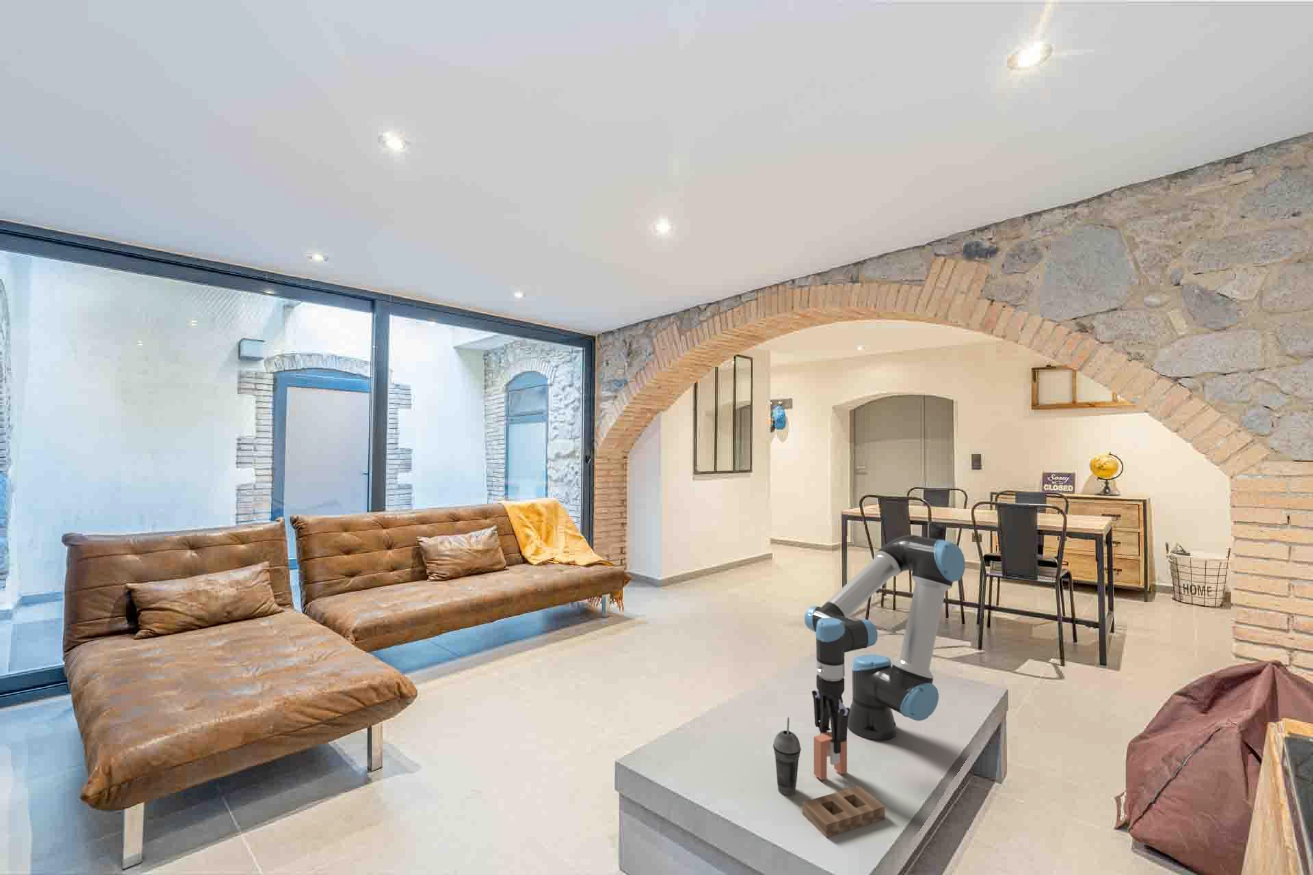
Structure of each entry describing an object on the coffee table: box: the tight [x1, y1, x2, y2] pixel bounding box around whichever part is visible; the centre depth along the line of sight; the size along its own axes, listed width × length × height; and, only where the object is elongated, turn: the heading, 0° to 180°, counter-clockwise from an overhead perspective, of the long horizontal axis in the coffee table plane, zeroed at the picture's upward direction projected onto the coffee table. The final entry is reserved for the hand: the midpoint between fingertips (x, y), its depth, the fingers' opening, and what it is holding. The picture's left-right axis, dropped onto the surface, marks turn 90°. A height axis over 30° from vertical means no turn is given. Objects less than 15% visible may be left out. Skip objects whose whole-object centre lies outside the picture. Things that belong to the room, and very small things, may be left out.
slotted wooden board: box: [802, 785, 886, 838], centre depth 141 cm, size 18×9×3 cm, turn 112°
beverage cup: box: [772, 717, 802, 797], centre depth 151 cm, size 7×7×20 cm
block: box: [813, 731, 848, 781], centre depth 158 cm, size 9×3×10 cm, turn 112°
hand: (830, 759), depth 158 cm, fingers closed on block, 3 cm apart
